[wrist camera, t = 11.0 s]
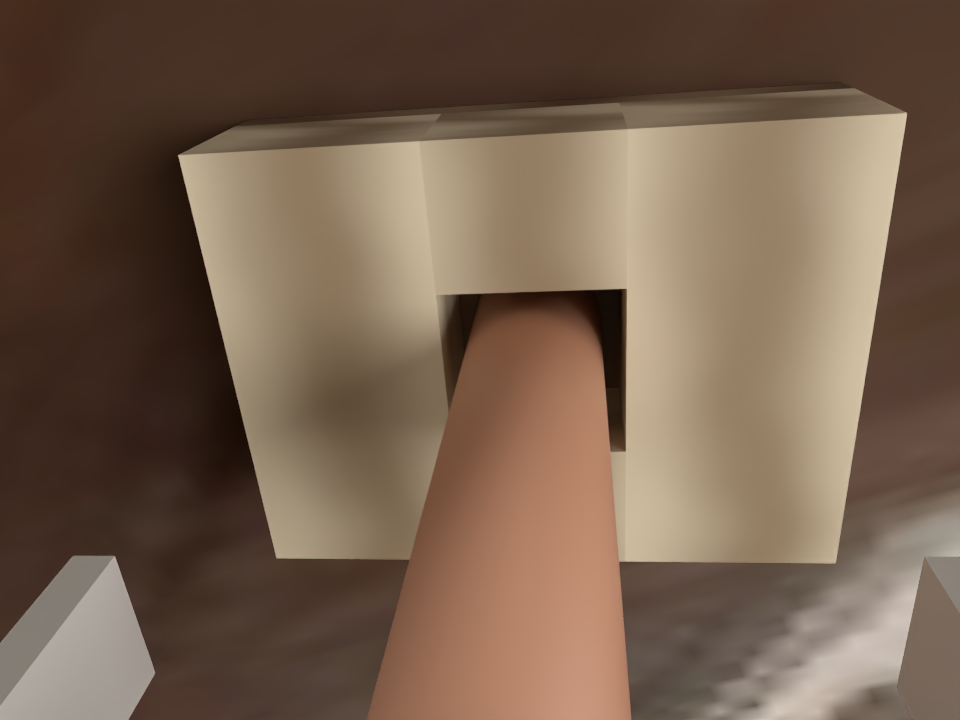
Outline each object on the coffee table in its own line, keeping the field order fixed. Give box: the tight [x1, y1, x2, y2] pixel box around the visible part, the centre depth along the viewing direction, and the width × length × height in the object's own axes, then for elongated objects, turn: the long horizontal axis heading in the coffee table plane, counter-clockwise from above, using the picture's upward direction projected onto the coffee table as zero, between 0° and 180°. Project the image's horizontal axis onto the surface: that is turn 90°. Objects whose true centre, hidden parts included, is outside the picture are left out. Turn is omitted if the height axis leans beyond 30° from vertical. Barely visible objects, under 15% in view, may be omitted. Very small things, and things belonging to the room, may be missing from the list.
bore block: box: [178, 82, 907, 563], centre depth 22 cm, size 16×12×4 cm
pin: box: [367, 290, 631, 720], centre depth 17 cm, size 4×4×15 cm
